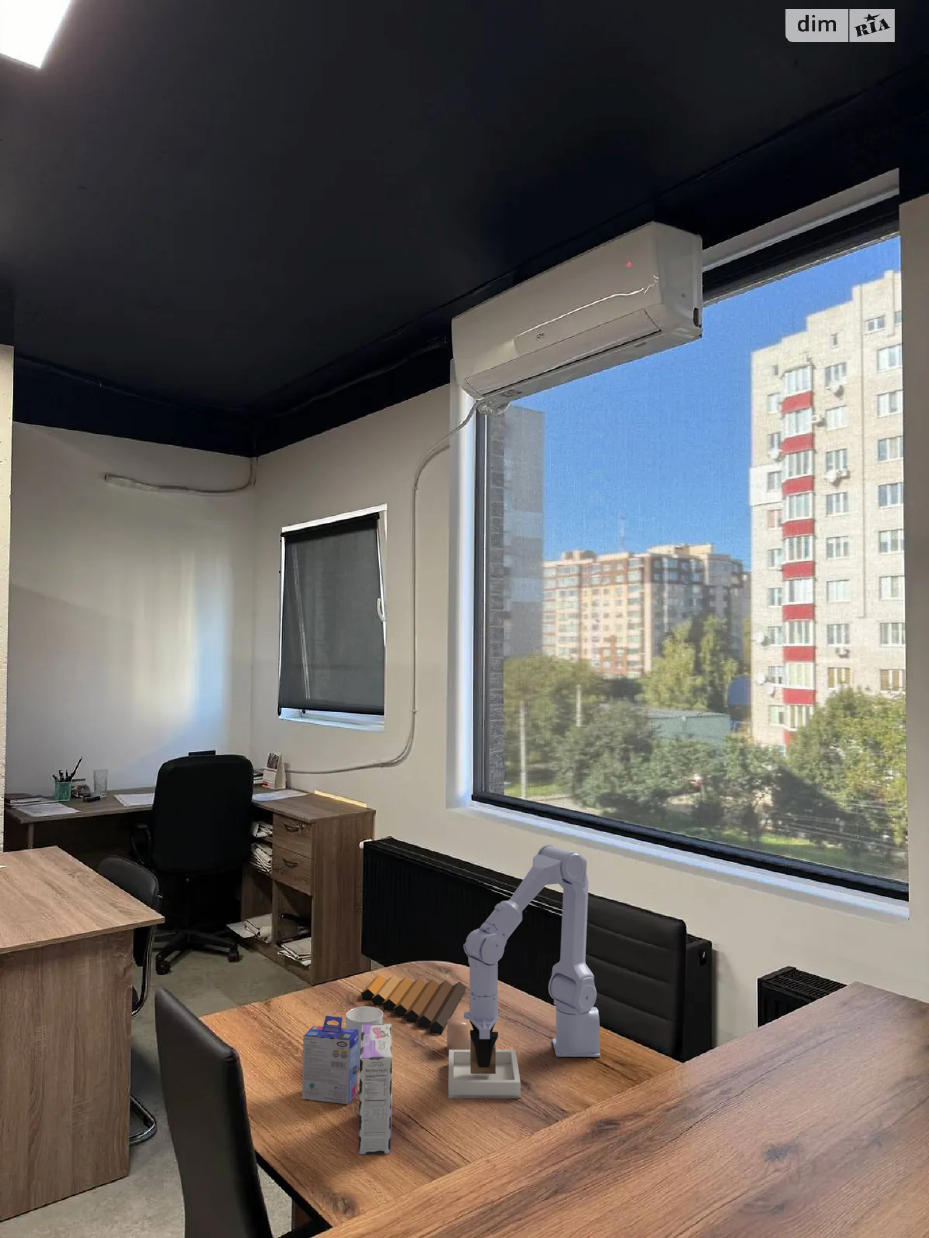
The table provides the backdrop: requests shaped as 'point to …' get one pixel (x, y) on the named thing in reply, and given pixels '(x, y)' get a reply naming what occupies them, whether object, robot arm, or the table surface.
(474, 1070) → the walnut cube
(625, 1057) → the table surface
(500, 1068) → the off-white tray
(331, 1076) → the ink cartridge box
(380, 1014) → the white cup
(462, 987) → the pan flute
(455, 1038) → the beige rounded cylinder
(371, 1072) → the candy box
